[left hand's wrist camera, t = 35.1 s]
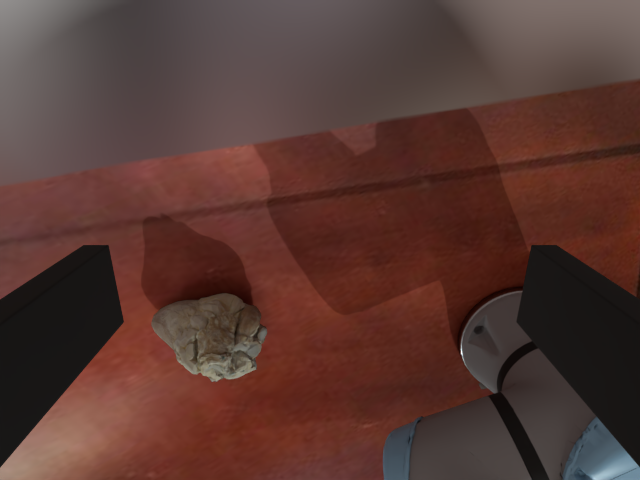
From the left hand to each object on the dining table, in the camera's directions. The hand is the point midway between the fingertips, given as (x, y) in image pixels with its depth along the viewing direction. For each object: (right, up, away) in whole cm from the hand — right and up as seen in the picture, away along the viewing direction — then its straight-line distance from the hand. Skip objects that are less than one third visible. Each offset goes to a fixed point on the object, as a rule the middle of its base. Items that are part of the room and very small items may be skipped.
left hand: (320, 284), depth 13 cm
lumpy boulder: (-14, -9, +42) cm, 45 cm away
